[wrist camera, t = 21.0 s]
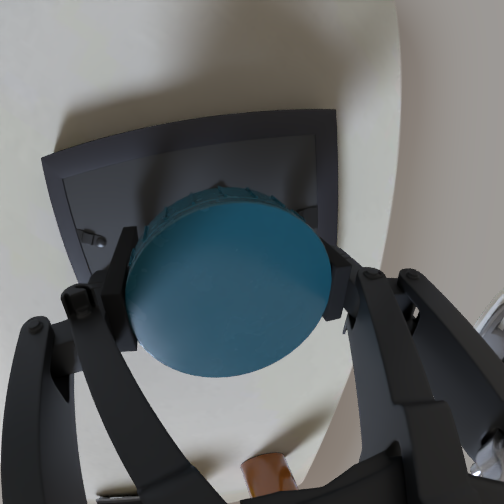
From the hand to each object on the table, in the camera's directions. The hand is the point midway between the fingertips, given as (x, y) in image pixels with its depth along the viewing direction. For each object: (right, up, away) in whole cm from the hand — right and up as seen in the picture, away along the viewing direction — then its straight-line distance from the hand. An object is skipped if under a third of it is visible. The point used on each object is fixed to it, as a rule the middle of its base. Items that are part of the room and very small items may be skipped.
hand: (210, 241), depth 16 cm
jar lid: (+2, -2, -5) cm, 6 cm away
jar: (+4, -36, +23) cm, 42 cm away
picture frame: (-1, +1, +3) cm, 3 cm away
